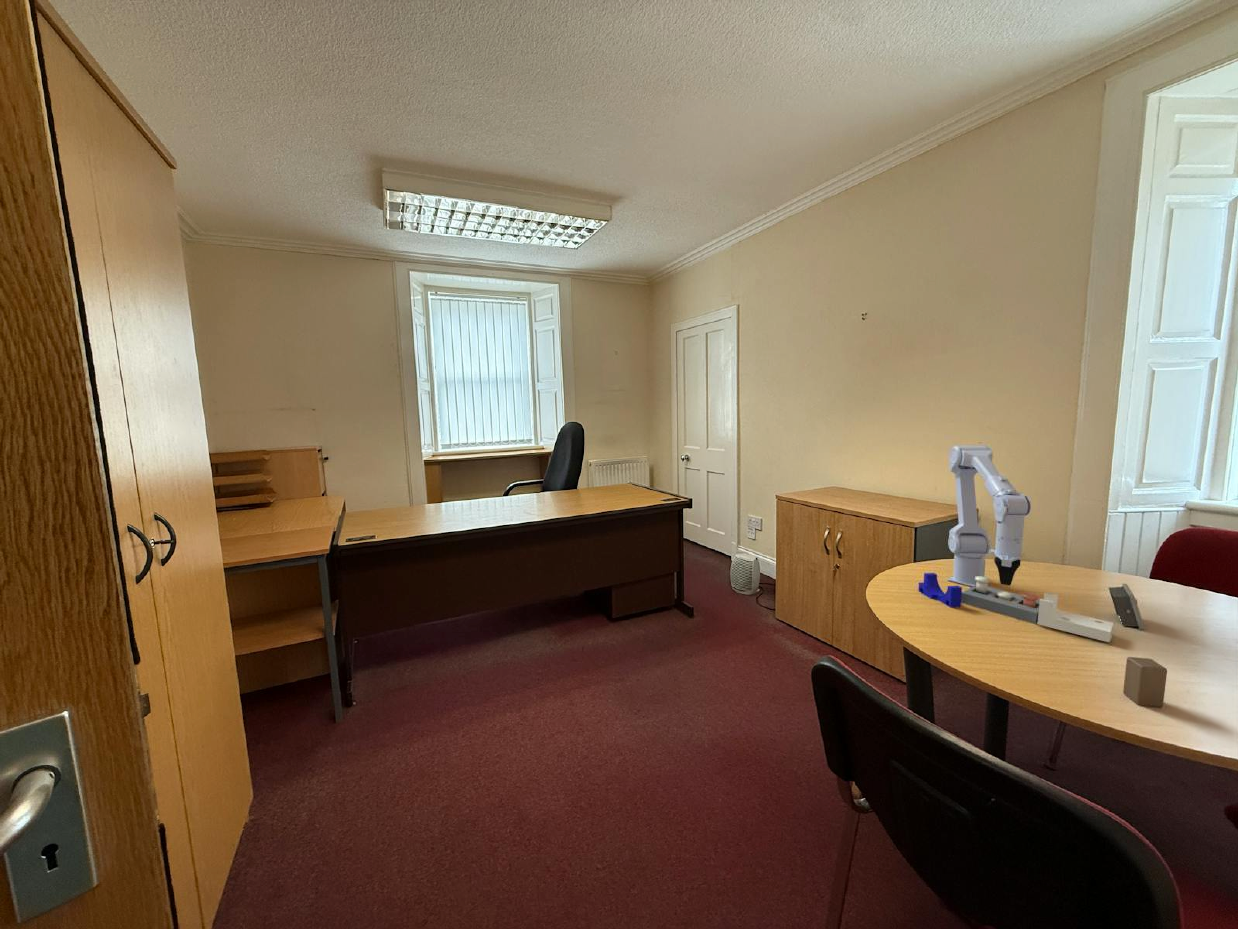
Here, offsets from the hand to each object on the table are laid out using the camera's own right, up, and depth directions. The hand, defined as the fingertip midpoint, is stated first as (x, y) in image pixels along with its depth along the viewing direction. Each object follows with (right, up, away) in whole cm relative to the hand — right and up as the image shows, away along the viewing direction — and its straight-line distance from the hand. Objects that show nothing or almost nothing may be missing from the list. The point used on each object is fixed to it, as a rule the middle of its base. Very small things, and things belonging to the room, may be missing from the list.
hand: (1005, 584), depth 134 cm
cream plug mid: (0, -7, +1) cm, 7 cm away
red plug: (+3, -6, -4) cm, 8 cm away
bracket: (+6, -9, -13) cm, 17 cm away
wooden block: (-7, -13, -41) cm, 43 cm away
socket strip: (0, -7, +1) cm, 7 cm away
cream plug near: (-3, -3, +5) cm, 7 cm away
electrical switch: (+24, -8, -10) cm, 27 cm away
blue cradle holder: (-13, -7, +8) cm, 17 cm away
